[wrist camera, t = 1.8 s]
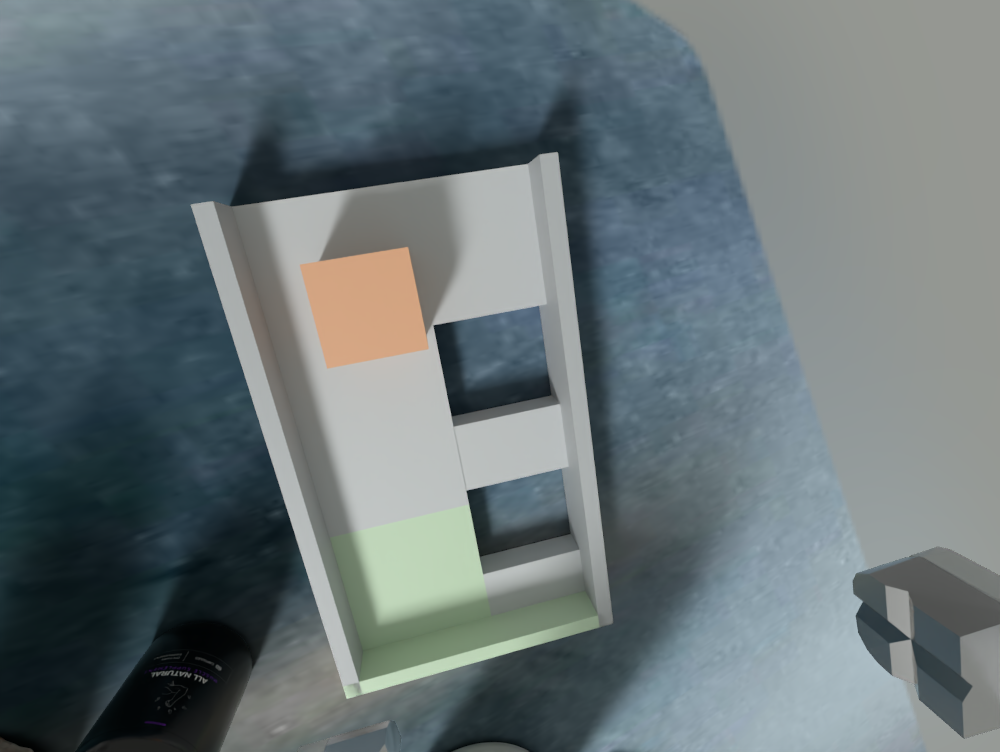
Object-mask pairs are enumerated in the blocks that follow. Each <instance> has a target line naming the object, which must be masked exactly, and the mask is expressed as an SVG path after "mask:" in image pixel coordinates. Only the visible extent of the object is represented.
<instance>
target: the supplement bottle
mask: <svg viewBox="0 0 1000 752" xmlns="http://www.w3.org/2000/svg"><path fill="white" fill-rule="evenodd" d="M251 671H252V655H251V652H250V649H249V647H248V645H247V644H246V642H245V641H244V639H243V638H242V637H241V636H240V635H239V634H237V633H236V632H235V631H233V630H231V629H230V628H228V627H225V626H223V625H220V624H216V623H210V622H192V623H187V624H183V625H180V626H177V627H175V628H172V629H170V630H168V631H167V632H165V633H164V634H162V635H161V636H160V637H158V638H157V639H156V640H155V641H154V642H153V643H152V644H151V646H150V647H149V648H148V650H147V651H146V652H145V654H144V655H143V656H142V658H141V659H140V660H139V662H138V663H137V665H136V666H135V667H134V669H133V670H132V672H131V673H130V675H129V676H128V677H127V679H126V680H125V682H124V683H123V684H122V686H121V687H120V689H119V690H118V692H117V693H116V694H115V696H114V697H113V699H112V700H111V701H110V703H109V704H108V706H107V707H106V709H105V710H104V711H103V713H102V714H101V716H100V717H99V718H98V720H97V721H96V723H95V724H94V725H93V727H92V728H91V730H90V731H89V733H88V734H87V735H86V737H85V738H84V740H83V741H82V742H81V744H80V745H79V747H78V748H77V750H76V751H75V752H220V749H221V747H222V745H223V742H224V740H225V737H226V735H227V732H228V730H229V728H230V725H231V723H232V720H233V718H234V715H235V713H236V711H237V708H238V706H239V703H240V701H241V698H242V696H243V694H244V691H245V688H246V686H247V683H248V681H249V678H250V675H251Z"/></svg>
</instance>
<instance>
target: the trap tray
mask: <svg viewBox="0 0 1000 752" xmlns="http://www.w3.org/2000/svg"><path fill="white" fill-rule="evenodd" d="M191 207H192V210H193V213H194V216H195V220H196V223H197V226H198V229H199V232H200V235H201V239H202V242H203V245H204V248H205V251H206V254H207V258H208V261H209V264H210V267H211V270H212V273H213V277H214V280H215V283H216V286H217V289H218V292H219V296H220V299H221V302H222V305H223V308H224V311H225V315H226V318H227V321H228V324H229V327H230V330H231V334H232V337H233V340H234V343H235V346H236V349H237V353H238V356H239V359H240V362H241V365H242V368H243V372H244V375H245V378H246V381H247V384H248V387H249V391H250V394H251V397H252V400H253V403H254V406H255V410H256V413H257V416H258V419H259V422H260V425H261V429H262V432H263V435H264V438H265V441H266V444H267V448H268V451H269V454H270V457H271V460H272V463H273V467H274V470H275V473H276V476H277V479H278V482H279V486H280V489H281V492H282V495H283V498H284V501H285V505H286V508H287V511H288V514H289V517H290V520H291V524H292V527H293V530H294V533H295V536H296V539H297V543H298V546H299V549H300V552H301V555H302V558H303V561H304V565H305V568H306V571H307V574H308V577H309V580H310V584H311V587H312V590H313V593H314V596H315V599H316V603H317V606H318V609H319V612H320V615H321V618H322V622H323V625H324V628H325V631H326V634H327V637H328V641H329V644H330V647H331V650H332V653H333V656H334V660H335V663H336V666H337V669H338V672H339V675H340V679H341V682H342V685H343V688H344V691H345V694H346V698H347V699H348V698H351V697H355V696H358V695H362V694H365V693H369V692H373V691H376V690H380V689H383V688H387V687H390V686H394V685H397V684H401V683H404V682H408V681H412V680H415V679H419V678H422V677H426V676H429V675H433V674H436V673H440V672H443V671H447V670H450V669H454V668H458V667H461V666H465V665H468V664H472V663H475V662H479V661H482V660H486V659H489V658H493V657H497V656H500V655H504V654H507V653H511V652H514V651H518V650H521V649H525V648H528V647H532V646H536V645H539V644H543V643H546V642H550V641H553V640H557V639H560V638H564V637H567V636H571V635H574V634H578V633H582V632H585V631H589V630H592V629H596V628H599V627H603V626H606V625H610V624H613V616H612V608H611V599H610V591H609V582H608V574H607V565H606V557H605V548H604V540H603V531H602V523H601V514H600V506H599V497H598V489H597V480H596V472H595V463H594V455H593V446H592V438H591V429H590V421H589V412H588V404H587V396H586V387H585V379H584V370H583V362H582V353H581V345H580V336H579V328H578V319H577V311H576V302H575V294H574V285H573V277H572V268H571V260H570V251H569V243H568V234H567V226H566V217H565V209H564V200H563V192H562V183H561V175H560V166H559V158H558V152H554V153H547V154H540V155H538V156H537V157H536V158H535V159H533V160H532V161H531V162H530V163H528V164H524V165H517V166H510V167H503V168H496V169H490V170H483V171H476V172H469V173H462V174H455V175H448V176H441V177H435V178H428V179H421V180H414V181H407V182H399V183H392V184H385V185H379V186H372V187H365V188H358V189H351V190H344V191H337V192H330V193H324V194H317V195H310V196H303V197H296V198H289V199H282V200H275V201H269V202H262V203H255V204H248V205H241V206H234V207H231V206H228V205H224V204H221V203H217V202H214V201H212V202H205V203H198V204H191ZM404 247H408V248H409V252H410V257H411V262H412V267H413V272H414V277H415V282H416V286H417V291H418V296H419V301H420V306H421V311H422V316H423V321H424V325H425V330H426V335H427V341H428V346H429V349H427V350H422V351H416V352H411V353H406V354H401V355H396V356H390V357H385V358H380V359H375V360H370V361H364V362H359V363H354V364H349V365H344V366H338V367H333V368H328V369H327V366H326V362H325V359H324V355H323V351H322V347H321V344H320V340H319V336H318V332H317V329H316V325H315V321H314V317H313V314H312V310H311V306H310V302H309V299H308V295H307V291H306V287H305V284H304V280H303V276H302V272H301V269H300V264H306V263H312V262H319V261H325V260H331V259H337V258H343V257H349V256H355V255H361V254H367V253H374V252H380V251H386V250H392V249H398V248H404ZM534 306H539V309H540V316H541V323H542V330H543V337H544V345H545V352H546V359H547V366H548V374H549V381H550V388H551V396H546V397H542V398H537V399H532V400H528V401H523V402H518V403H513V404H509V405H504V406H499V407H495V408H490V409H485V410H480V411H476V412H471V413H466V414H462V415H457V416H452V417H451V412H450V407H449V402H448V397H447V392H446V387H445V382H444V377H443V372H442V367H441V362H440V357H439V352H438V347H437V342H436V337H435V332H434V327H433V325H438V324H443V323H448V322H454V321H459V320H464V319H470V318H475V317H481V316H486V315H491V314H497V313H502V312H507V311H513V310H518V309H524V308H529V307H534ZM561 468H562V475H563V482H564V489H565V496H566V504H567V511H568V518H569V525H570V532H571V534H568V535H564V536H560V537H556V538H552V539H548V540H544V541H541V542H537V543H533V544H529V545H525V546H521V547H517V548H513V549H509V550H505V551H501V552H497V553H493V554H489V555H485V556H481V557H479V552H478V547H477V542H476V537H475V532H474V527H473V522H472V517H471V512H470V507H469V502H468V497H467V492H466V491H467V490H471V489H475V488H480V487H484V486H488V485H492V484H497V483H501V482H505V481H510V480H514V479H518V478H522V477H527V476H531V475H535V474H539V473H544V472H548V471H552V470H557V469H561Z"/></svg>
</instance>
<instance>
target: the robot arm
mask: <svg viewBox="0 0 1000 752" xmlns="http://www.w3.org/2000/svg"><path fill="white" fill-rule="evenodd" d="M853 591H854V594H855V595H856V596H857V597H858V598H859V599H860V600H861V601H863V603H862V605H861V607H860V608H859V610H858V612H857V614H856V620H857V627H858V633H859V635H860V637H861V639H862V640H863V642H864V644H865V646H866V648H867V650H868V651H869V652H870V654H871V655H872V656H873V657H874V659H875V660H876V661H877V662H878V663H879V664H880V665H881V666H882V667H883V668H884V669H885V670H886V671H888V672H889V673H890V674H891V675H892V676H894V677H897V678H899V679H902V680H904V681H907V682H909V683H912V684H914V685H915V688H916V691H917V694H918V697H919V700H920V701H921V702H923V703H924V704H925V705H926V706H927V707H929V709H931V710H932V711H933V712H934V713H935V714H936V715H937V716H939V717H940V718H941V719H942V720H943V721H944V722H945V723H946V724H948V725H949V726H950V727H951V728H952V729H954V731H956V732H957V733H958V734H959V735H960V736H961V737H963V738H964V739H965V738H968V737H971V736H975V735H978V734H981V733H985V732H988V731H992V730H995V729H998V728H1000V575H998V574H996V573H994V572H992V571H990V570H989V569H987V568H985V567H983V566H981V565H979V564H977V563H975V562H973V561H971V560H969V559H968V558H966V557H964V556H962V555H960V554H958V553H956V552H954V551H952V550H950V549H947V548H942V547H935V548H932V549H929V550H926V551H923V552H920V553H917V554H914V555H911V556H910V557H905V558H902V559H899V560H896V561H893V562H890V563H887V564H883V565H880V566H877V567H874V568H871V569H868V570H865V571H862V572H859V573H856V575H855V577H854V580H853ZM401 738H402V737H401V734H400V732H399V730H398V727H397V725H396V722H395V721H391V720H389V721H386V722H382V723H379V724H375V725H372V726H368V727H365V728H361V729H358V730H354V731H351V732H347V733H344V734H340V735H337V736H333V737H331V738H329V739H325V740H322V741H318V742H315V743H311V744H307V745H304V746H301V747H300V748H299V749H298V751H297V752H400V749H401Z"/></svg>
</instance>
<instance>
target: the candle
mask: <svg viewBox="0 0 1000 752" xmlns="http://www.w3.org/2000/svg"><path fill="white" fill-rule="evenodd" d="M0 752H34V751H33V750H32V749H30V748H26V747H20V746H18V745H16V744H14V743H12V742H9V741H6V740H4V739H3V738H2V737H0Z"/></svg>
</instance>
